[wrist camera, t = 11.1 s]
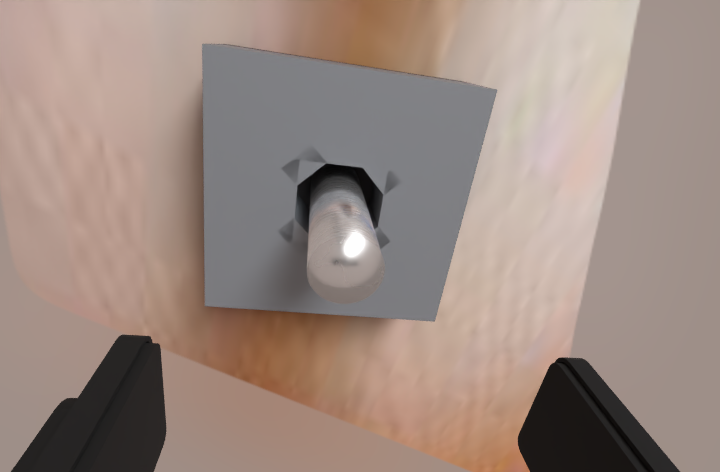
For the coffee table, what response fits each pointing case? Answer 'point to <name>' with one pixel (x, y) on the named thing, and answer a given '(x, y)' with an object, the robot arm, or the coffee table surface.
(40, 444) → the robot arm
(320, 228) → the aluminium pin
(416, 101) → the bore block
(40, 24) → the coffee table surface
